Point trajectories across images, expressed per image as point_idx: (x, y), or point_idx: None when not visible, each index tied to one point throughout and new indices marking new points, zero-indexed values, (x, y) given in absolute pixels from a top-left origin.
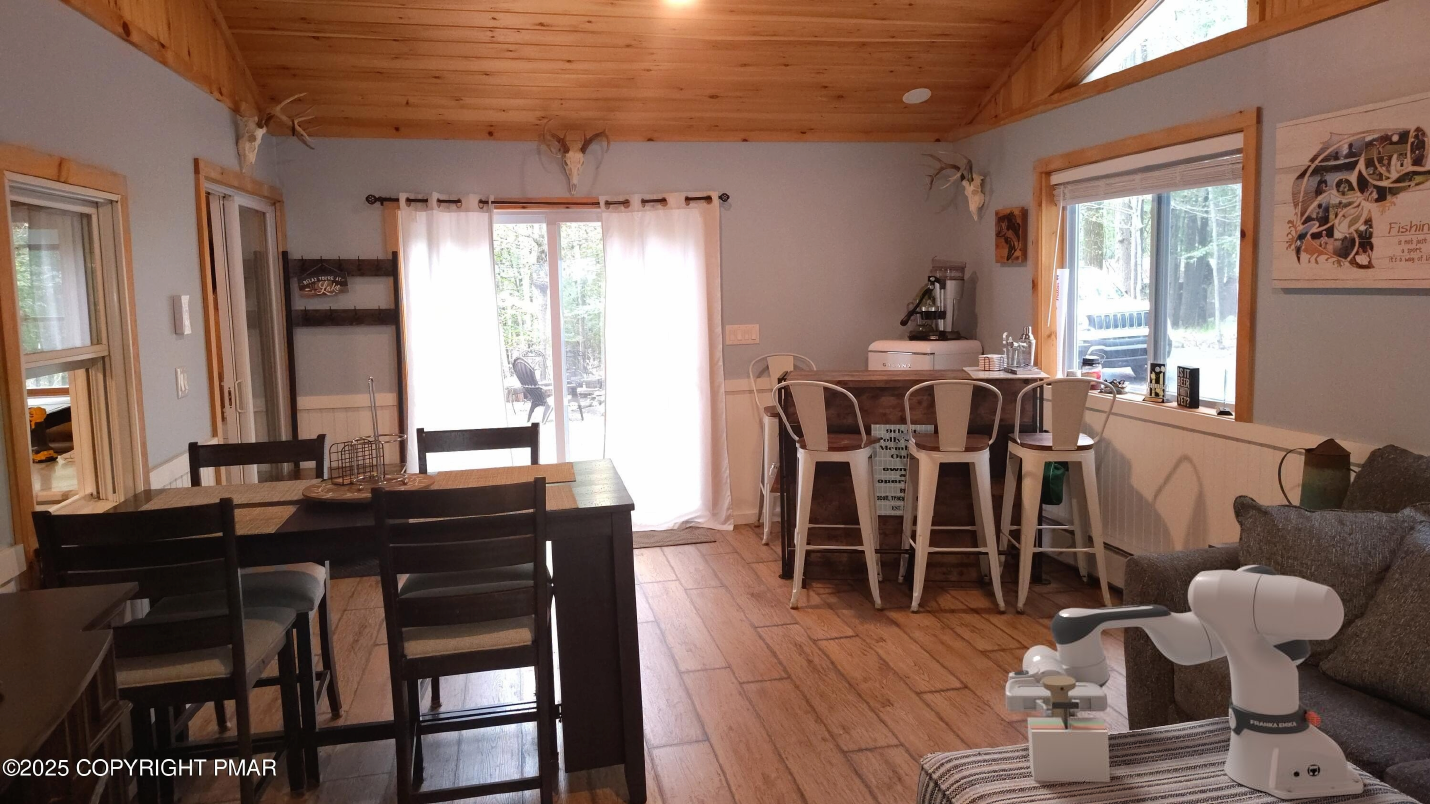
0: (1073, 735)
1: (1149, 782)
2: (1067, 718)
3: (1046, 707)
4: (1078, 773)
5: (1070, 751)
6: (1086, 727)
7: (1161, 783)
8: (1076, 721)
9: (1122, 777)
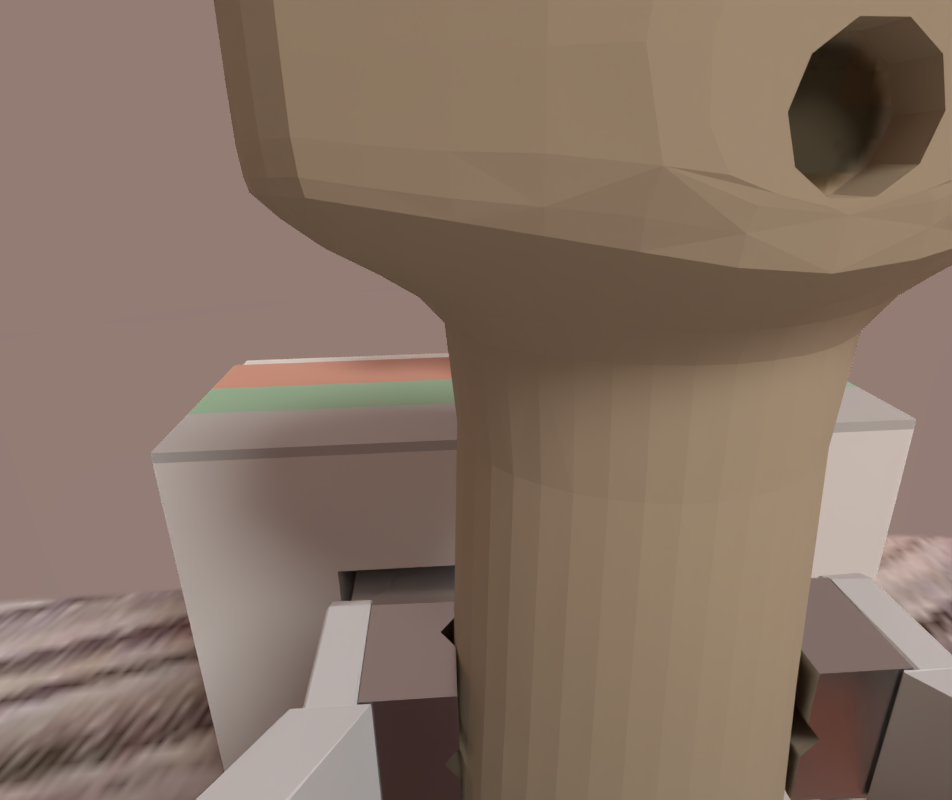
0: None
1: (64, 672)
2: None
3: (850, 606)
4: None
5: None
6: (378, 365)
7: (3, 668)
8: (433, 403)
9: (186, 711)
